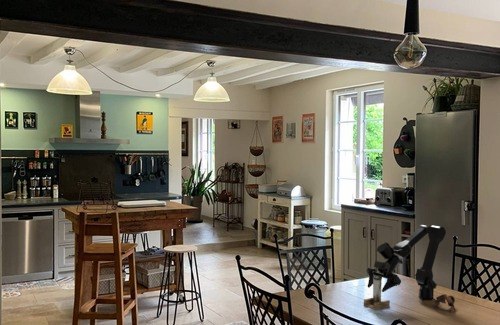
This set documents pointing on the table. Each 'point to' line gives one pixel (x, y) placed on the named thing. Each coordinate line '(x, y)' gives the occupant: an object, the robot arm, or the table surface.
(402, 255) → the robot arm
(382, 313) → the table surface
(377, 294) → the pin
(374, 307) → the slot block
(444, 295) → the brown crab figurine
